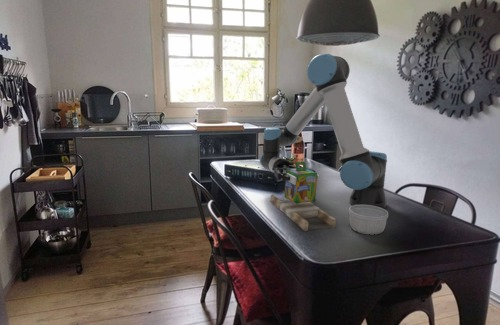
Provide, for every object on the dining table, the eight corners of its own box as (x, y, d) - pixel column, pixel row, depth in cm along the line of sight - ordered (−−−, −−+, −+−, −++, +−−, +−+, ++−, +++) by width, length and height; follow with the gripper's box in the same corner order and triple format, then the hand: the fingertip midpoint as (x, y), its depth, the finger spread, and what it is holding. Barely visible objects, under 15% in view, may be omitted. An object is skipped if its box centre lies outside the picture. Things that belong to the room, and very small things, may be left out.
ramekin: (342, 221, 129) (343, 204, 127) (376, 221, 130) (378, 203, 128) (355, 236, 116) (357, 217, 114) (393, 236, 117) (395, 217, 115)
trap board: (270, 201, 150) (270, 194, 150) (295, 199, 154) (295, 192, 153) (304, 230, 120) (305, 222, 119) (335, 227, 123) (335, 219, 123)
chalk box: (296, 204, 130) (298, 166, 126) (283, 197, 138) (285, 160, 134) (316, 201, 134) (318, 164, 130) (302, 194, 142) (304, 159, 138)
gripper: (302, 173, 155) (331, 187, 135) (256, 176, 147) (280, 192, 127) (303, 157, 153) (332, 168, 133) (257, 159, 145) (281, 172, 125)
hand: (307, 179), depth 130 cm, fingers closed on chalk box, 9 cm apart
